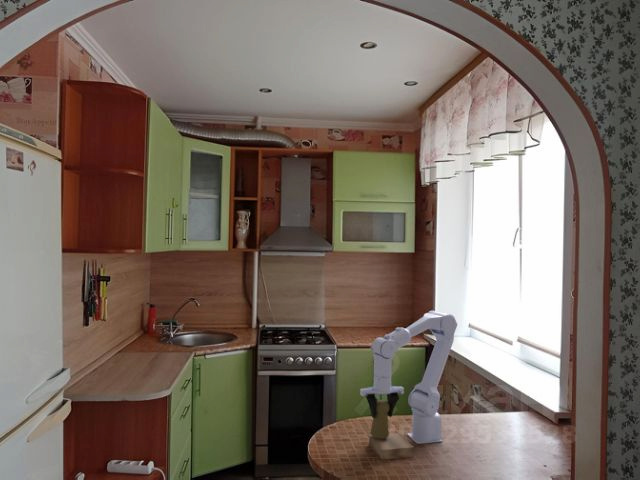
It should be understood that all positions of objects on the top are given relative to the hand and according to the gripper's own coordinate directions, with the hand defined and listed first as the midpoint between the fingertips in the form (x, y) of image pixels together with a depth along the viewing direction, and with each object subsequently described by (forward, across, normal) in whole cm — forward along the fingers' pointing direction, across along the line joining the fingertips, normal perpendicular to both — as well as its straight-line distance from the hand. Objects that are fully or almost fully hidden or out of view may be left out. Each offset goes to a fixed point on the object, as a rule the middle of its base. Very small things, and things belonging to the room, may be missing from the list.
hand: (381, 416), depth 158 cm
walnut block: (+10, -2, +3) cm, 11 cm away
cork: (+6, 0, -1) cm, 6 cm away
